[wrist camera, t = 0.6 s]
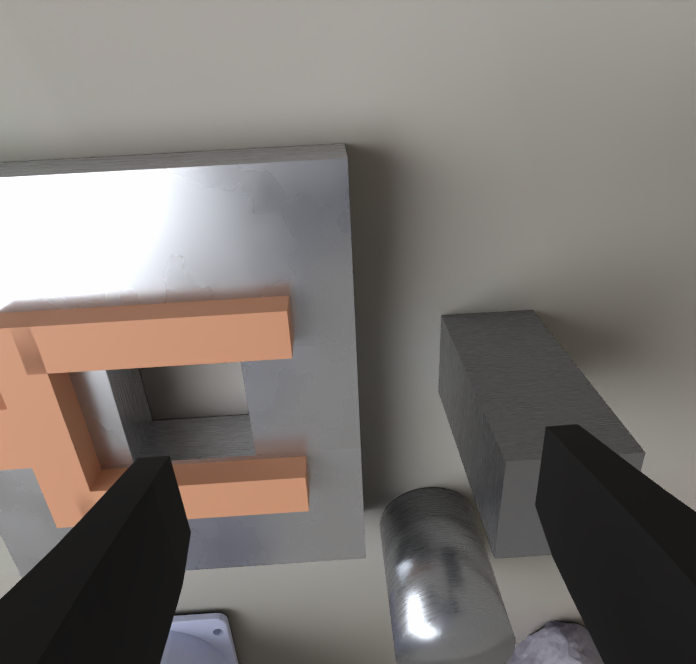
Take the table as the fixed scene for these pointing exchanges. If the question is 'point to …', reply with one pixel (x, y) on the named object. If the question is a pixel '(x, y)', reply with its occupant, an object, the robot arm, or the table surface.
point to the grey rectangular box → (515, 416)
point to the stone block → (557, 646)
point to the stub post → (441, 583)
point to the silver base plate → (200, 285)
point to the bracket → (125, 353)
